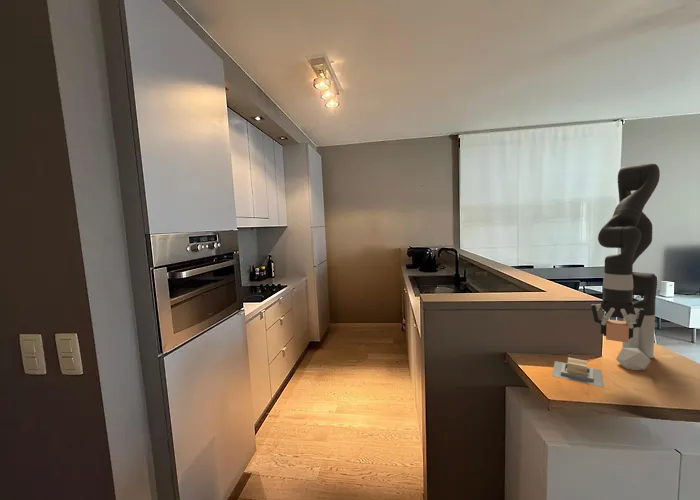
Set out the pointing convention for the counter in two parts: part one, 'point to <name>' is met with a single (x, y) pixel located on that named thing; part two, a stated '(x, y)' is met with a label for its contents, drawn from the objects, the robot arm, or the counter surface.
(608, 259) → the robot arm
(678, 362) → the counter surface
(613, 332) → the top block
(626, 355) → the grey faceted rock
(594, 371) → the base plate
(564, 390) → the counter surface
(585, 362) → the base block
